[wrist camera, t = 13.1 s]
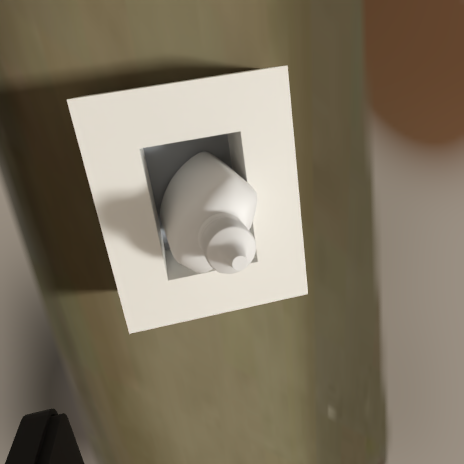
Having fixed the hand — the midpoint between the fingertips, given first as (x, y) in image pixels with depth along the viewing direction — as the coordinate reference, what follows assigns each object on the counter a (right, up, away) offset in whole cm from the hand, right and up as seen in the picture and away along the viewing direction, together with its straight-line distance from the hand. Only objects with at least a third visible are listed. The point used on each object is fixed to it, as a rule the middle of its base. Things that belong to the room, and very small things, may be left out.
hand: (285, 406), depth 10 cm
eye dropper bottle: (-4, +7, +20) cm, 21 cm away
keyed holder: (-4, +7, +21) cm, 22 cm away
